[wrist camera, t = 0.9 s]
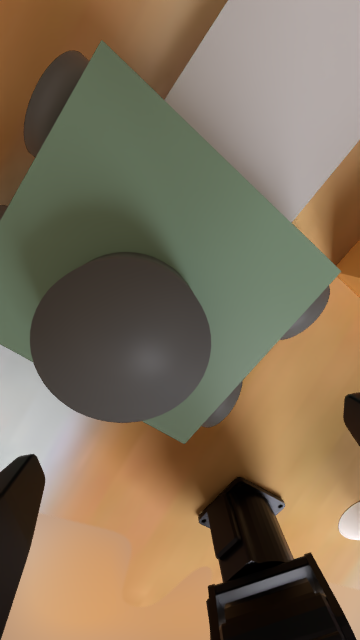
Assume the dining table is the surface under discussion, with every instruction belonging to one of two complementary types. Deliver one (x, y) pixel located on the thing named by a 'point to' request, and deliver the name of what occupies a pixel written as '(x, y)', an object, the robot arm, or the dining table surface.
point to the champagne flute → (351, 523)
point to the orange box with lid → (351, 269)
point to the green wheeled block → (178, 214)
